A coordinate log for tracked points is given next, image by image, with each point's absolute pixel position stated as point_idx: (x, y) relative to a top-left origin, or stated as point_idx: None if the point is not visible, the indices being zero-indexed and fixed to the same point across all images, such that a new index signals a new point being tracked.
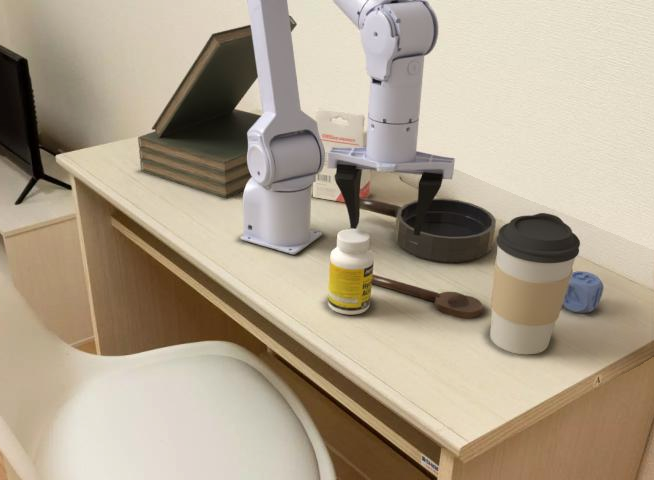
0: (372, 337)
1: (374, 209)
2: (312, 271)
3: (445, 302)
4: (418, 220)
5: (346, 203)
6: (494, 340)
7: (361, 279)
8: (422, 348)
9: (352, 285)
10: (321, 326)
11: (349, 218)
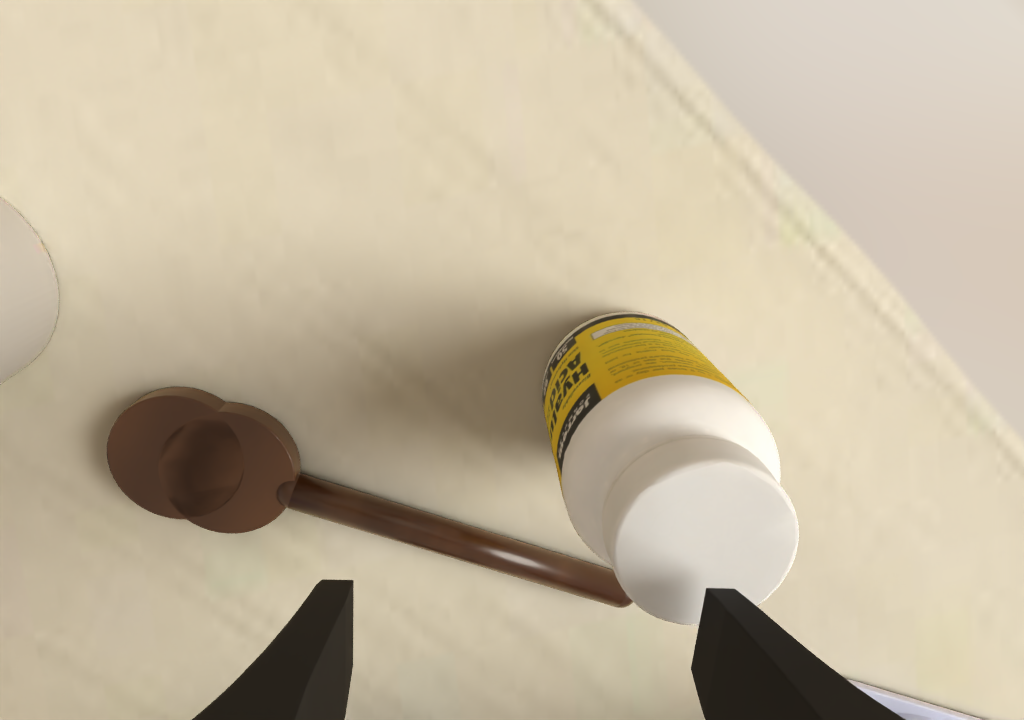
0: (509, 173)
1: None
2: None
3: (251, 450)
4: (307, 635)
5: (855, 688)
6: (24, 228)
7: (601, 374)
8: (306, 130)
9: (635, 348)
10: (711, 213)
11: (774, 622)
